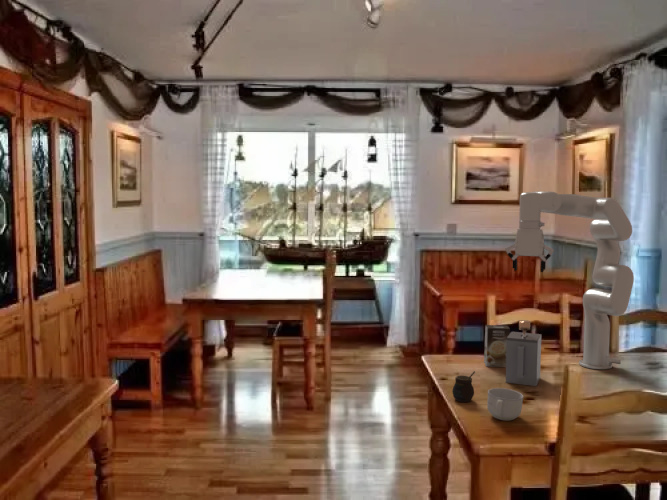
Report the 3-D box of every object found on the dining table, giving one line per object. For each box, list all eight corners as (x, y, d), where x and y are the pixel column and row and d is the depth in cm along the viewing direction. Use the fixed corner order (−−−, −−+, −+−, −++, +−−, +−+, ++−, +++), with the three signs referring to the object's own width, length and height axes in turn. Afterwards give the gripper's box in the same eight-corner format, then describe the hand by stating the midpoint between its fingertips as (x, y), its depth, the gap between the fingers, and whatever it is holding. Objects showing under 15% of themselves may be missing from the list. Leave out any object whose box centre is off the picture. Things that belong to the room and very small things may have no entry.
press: (540, 378, 238) (541, 334, 236) (535, 388, 225) (536, 342, 223) (510, 374, 242) (511, 331, 241) (504, 384, 230) (505, 339, 228)
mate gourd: (447, 398, 215) (448, 369, 214) (466, 396, 217) (467, 367, 217) (459, 404, 208) (460, 375, 207) (478, 402, 211) (479, 373, 210)
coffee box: (486, 366, 253) (486, 328, 252) (483, 362, 260) (484, 324, 258) (509, 367, 252) (510, 328, 251) (506, 363, 259) (507, 325, 257)
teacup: (496, 409, 204) (496, 385, 203) (528, 416, 197) (528, 391, 197) (476, 421, 193) (477, 395, 193) (509, 429, 187) (510, 403, 186)
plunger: (537, 365, 237) (538, 320, 235) (534, 371, 229) (535, 324, 227) (513, 362, 241) (514, 318, 239) (509, 368, 232) (510, 322, 231)
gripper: (555, 225, 232) (554, 270, 234) (507, 224, 239) (506, 268, 241) (553, 226, 225) (552, 273, 227) (504, 225, 232) (503, 271, 234)
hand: (528, 271), depth 234 cm, fingers open, 9 cm apart
